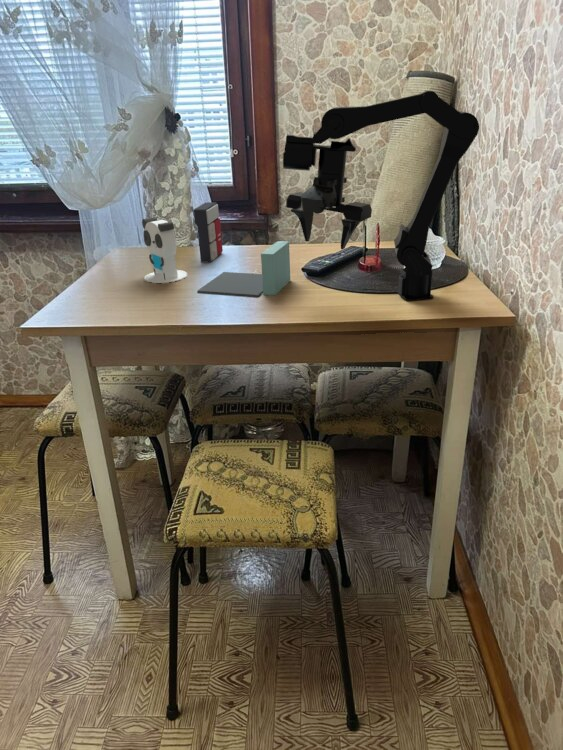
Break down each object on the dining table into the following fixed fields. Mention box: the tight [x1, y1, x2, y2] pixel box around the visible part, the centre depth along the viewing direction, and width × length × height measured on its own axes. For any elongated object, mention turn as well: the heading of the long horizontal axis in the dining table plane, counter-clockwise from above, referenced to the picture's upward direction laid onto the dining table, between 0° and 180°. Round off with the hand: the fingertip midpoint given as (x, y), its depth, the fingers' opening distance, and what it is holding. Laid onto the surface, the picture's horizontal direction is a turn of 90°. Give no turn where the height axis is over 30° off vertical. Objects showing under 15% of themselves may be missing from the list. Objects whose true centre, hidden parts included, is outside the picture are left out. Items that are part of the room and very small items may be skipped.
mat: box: [197, 271, 263, 298], centre depth 144 cm, size 16×16×1 cm
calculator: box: [193, 201, 223, 263], centre depth 165 cm, size 11×4×15 cm, turn 168°
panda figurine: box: [141, 216, 188, 284], centre depth 149 cm, size 12×11×15 cm
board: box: [260, 240, 291, 296], centre depth 139 cm, size 3×12×10 cm, turn 161°
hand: (324, 245), depth 128 cm, fingers open, 9 cm apart
